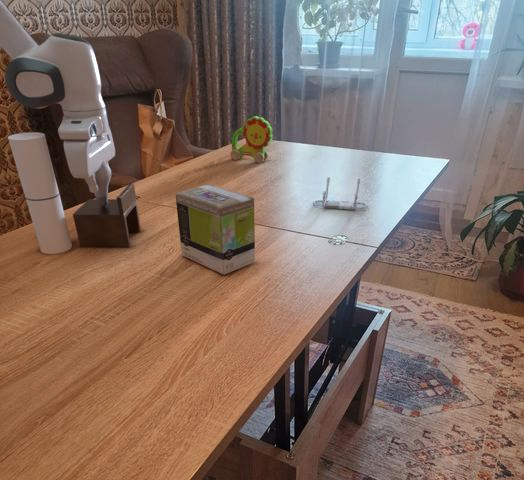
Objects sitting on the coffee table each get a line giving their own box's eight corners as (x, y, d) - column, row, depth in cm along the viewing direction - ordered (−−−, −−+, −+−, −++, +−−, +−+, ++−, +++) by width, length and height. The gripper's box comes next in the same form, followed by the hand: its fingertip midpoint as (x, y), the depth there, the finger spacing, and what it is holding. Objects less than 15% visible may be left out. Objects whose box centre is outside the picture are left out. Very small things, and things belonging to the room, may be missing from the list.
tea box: (256, 262, 108) (256, 196, 100) (223, 276, 102) (219, 208, 94) (213, 243, 117) (209, 181, 108) (180, 256, 111) (173, 191, 103)
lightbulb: (121, 203, 117) (113, 156, 111) (109, 212, 112) (100, 163, 106) (98, 201, 118) (89, 154, 112) (85, 209, 113) (75, 161, 107)
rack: (80, 246, 116) (68, 197, 109) (95, 229, 125) (85, 182, 118) (129, 247, 115) (120, 197, 108) (141, 230, 124) (133, 183, 117)
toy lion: (230, 160, 181) (228, 115, 172) (236, 156, 185) (235, 113, 176) (268, 164, 176) (268, 119, 167) (274, 161, 180) (274, 116, 171)
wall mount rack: (311, 210, 136) (312, 189, 133) (316, 195, 147) (317, 175, 143) (366, 213, 133) (369, 192, 130) (368, 198, 144) (370, 178, 141)
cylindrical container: (38, 255, 112) (4, 140, 97) (43, 243, 117) (11, 133, 103) (70, 252, 113) (41, 138, 98) (73, 240, 119) (46, 131, 104)
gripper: (89, 114, 113) (101, 174, 121) (54, 132, 96) (70, 201, 104) (115, 114, 113) (125, 174, 121) (85, 132, 96) (99, 201, 104)
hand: (100, 187), depth 112 cm, fingers closed on lightbulb, 6 cm apart
